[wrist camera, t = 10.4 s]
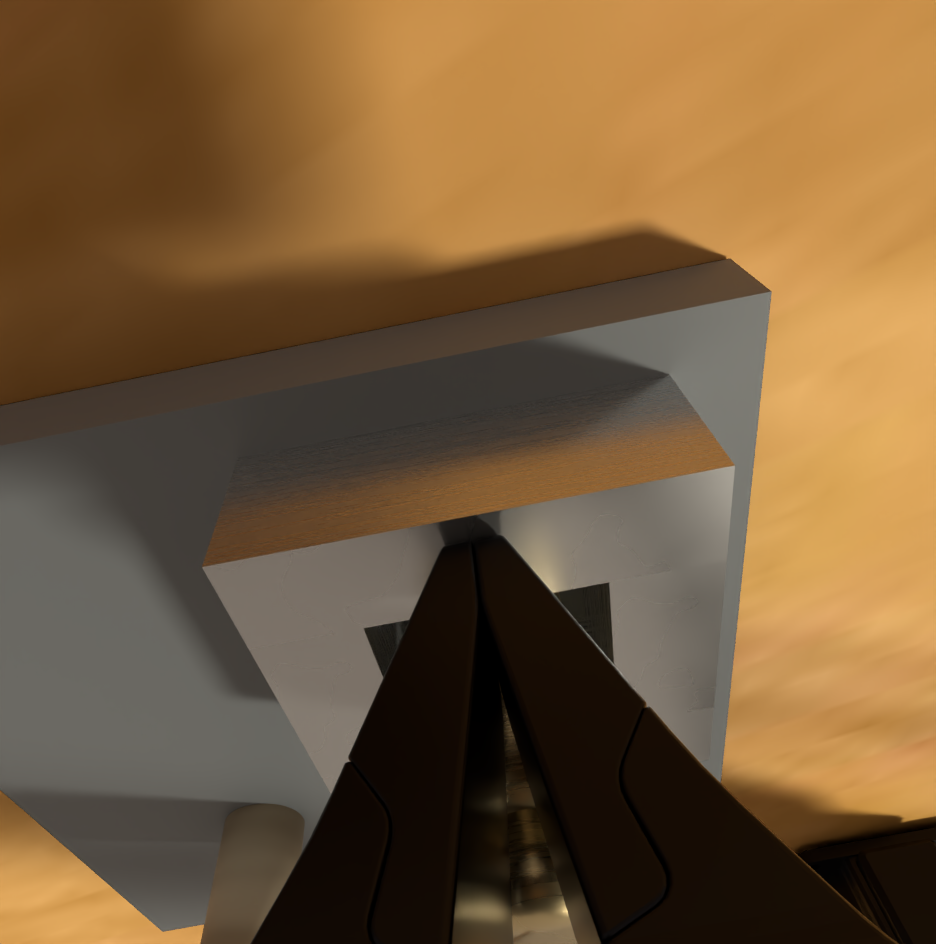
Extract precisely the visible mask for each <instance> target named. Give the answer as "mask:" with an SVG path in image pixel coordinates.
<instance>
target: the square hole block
mask: <svg viewBox="0 0 936 944" xmlns="http://www.w3.org/2000/svg"><path fill="white" fill-rule="evenodd" d="M734 472H735V465H734V463H733V462H732V461H731V459H730V458H729V456H728V455H727V454H726V452H725V451H724V449H723V448H722V447H721V445H720V444H719V442H718V441H717V440H716V438H715V437H714V436H713V434H712V433H711V431H710V430H709V429H708V427H707V426H706V424H705V423H704V422H703V420H702V419H701V418H700V416H699V415H698V413H697V412H696V411H695V409H694V408H693V406H692V405H691V404H690V402H689V401H688V399H687V398H686V397H685V395H684V394H683V393H682V391H681V390H680V388H679V387H678V386H677V384H676V383H675V381H674V380H673V379H672V377H671V376H670V375H669V374H668V375H663V376H658V377H653V378H648V379H643V380H637V381H632V382H627V383H622V384H617V385H612V386H607V387H601V388H596V389H591V390H586V391H581V392H576V393H571V394H565V395H560V396H555V397H550V398H545V399H540V400H535V401H529V402H524V403H519V404H514V405H509V406H504V407H499V408H493V409H488V410H483V411H478V412H473V413H468V414H463V415H457V416H452V417H447V418H442V419H437V420H432V421H427V422H421V423H416V424H411V425H406V426H401V427H396V428H391V429H385V430H380V431H375V432H370V433H365V434H360V435H355V436H349V437H344V438H339V439H334V440H329V441H324V442H319V443H313V444H308V445H303V446H298V447H293V448H288V449H283V450H277V451H272V452H267V453H262V454H257V455H252V456H247V457H241V458H238V459H237V462H236V465H235V468H234V471H233V474H232V477H231V480H230V483H229V486H228V489H227V492H226V495H225V498H224V501H223V504H222V507H221V511H220V514H219V517H218V520H217V523H216V526H215V529H214V532H213V535H212V538H211V541H210V544H209V547H208V550H207V553H206V556H205V559H204V562H203V565H202V568H203V570H204V572H205V573H206V575H207V577H208V579H209V580H210V582H211V584H212V586H213V587H214V589H215V591H216V593H217V594H218V596H219V598H220V600H221V601H222V603H223V605H224V607H225V609H226V610H227V612H228V614H229V616H230V617H231V619H232V621H233V623H234V624H235V626H236V628H237V630H238V631H239V633H240V635H241V637H242V638H243V640H244V642H245V644H246V645H247V647H248V649H249V651H250V652H251V654H252V656H253V658H254V660H255V661H256V663H257V665H258V667H259V668H260V670H261V672H262V674H263V675H264V677H265V679H266V681H267V682H268V684H269V686H270V688H271V689H272V691H273V693H274V695H275V696H276V698H277V700H278V702H279V703H280V705H281V707H282V709H283V711H284V712H285V714H286V716H287V718H288V719H289V721H290V723H291V725H292V726H293V728H294V730H295V732H296V733H297V735H298V737H299V739H300V740H301V742H302V744H303V746H304V747H305V749H306V751H307V753H308V754H309V756H310V758H311V760H312V762H313V763H314V765H315V767H316V769H317V770H318V772H319V774H320V776H321V777H322V779H323V781H324V783H325V784H326V786H327V788H328V790H329V791H330V793H332V791H333V789H334V787H335V784H336V782H337V780H338V777H339V775H340V773H341V771H342V768H343V766H344V764H345V763H346V762H350V761H349V759H348V756H349V754H350V751H351V749H352V747H353V745H354V742H355V740H356V738H357V736H358V733H359V731H360V729H361V727H362V724H363V722H364V720H365V718H366V715H367V713H368V711H369V709H370V707H371V704H372V702H373V700H374V698H375V695H376V693H377V691H378V689H379V686H380V684H381V682H382V680H383V677H384V675H385V673H386V671H387V668H388V666H389V664H390V662H391V659H392V657H393V655H394V653H395V651H396V648H397V646H398V644H399V642H400V639H401V637H402V635H403V633H404V630H405V628H406V627H405V624H404V622H403V621H405V620H409V619H410V617H411V615H412V612H413V610H414V608H415V606H416V604H417V601H418V599H419V597H420V595H421V592H422V590H423V588H424V586H425V583H426V581H427V579H428V577H429V574H430V572H431V570H432V568H433V565H434V563H435V561H436V559H437V556H438V554H439V552H440V550H441V548H442V547H444V546H445V545H450V544H455V543H460V542H465V541H469V542H471V543H472V544H473V546H474V542H475V541H476V540H477V539H481V538H486V537H491V536H497V535H502V536H504V537H505V538H506V539H507V540H508V541H509V542H510V543H511V545H512V546H513V547H514V548H515V549H516V550H517V552H518V553H519V554H520V555H521V556H522V558H523V559H524V560H525V561H526V562H527V563H528V565H529V566H530V567H531V568H532V569H533V570H534V572H535V573H536V574H537V575H538V576H539V577H540V579H541V580H542V581H543V582H544V583H545V584H546V586H547V587H548V588H549V589H550V590H551V591H552V593H555V592H560V591H565V590H571V589H576V588H581V587H582V596H583V606H584V617H579V618H575V619H576V621H577V622H578V623H579V624H580V625H581V626H582V628H583V629H584V630H585V631H586V632H587V633H588V635H589V636H590V637H591V638H592V639H593V640H594V642H595V643H596V644H597V645H598V646H599V647H600V649H601V650H602V651H603V652H604V653H605V654H606V656H607V657H608V658H609V659H610V660H611V661H612V663H613V664H614V665H615V666H616V667H617V668H618V670H619V671H620V672H621V673H622V674H623V675H624V677H625V678H626V679H627V680H628V681H629V682H630V684H631V685H632V686H633V687H634V688H635V690H636V691H637V692H638V693H639V694H640V695H641V697H642V698H643V699H644V700H645V701H646V704H647V707H648V706H649V707H651V708H652V709H653V710H654V711H655V712H656V714H657V715H658V716H659V717H660V718H661V719H662V721H663V722H664V723H665V724H666V725H667V726H668V728H669V729H670V730H671V731H672V732H673V733H674V734H675V735H676V737H677V738H678V739H679V740H680V741H681V742H682V743H683V744H684V745H685V746H686V747H687V749H688V750H689V751H690V752H691V753H692V754H693V755H694V756H695V757H696V758H697V760H698V761H703V760H709V758H710V747H711V735H712V724H713V712H714V701H715V689H716V678H717V666H718V655H719V644H720V632H721V621H722V609H723V598H724V586H725V575H726V563H727V552H728V541H729V529H730V518H731V506H732V495H733V483H734Z"/></svg>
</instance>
